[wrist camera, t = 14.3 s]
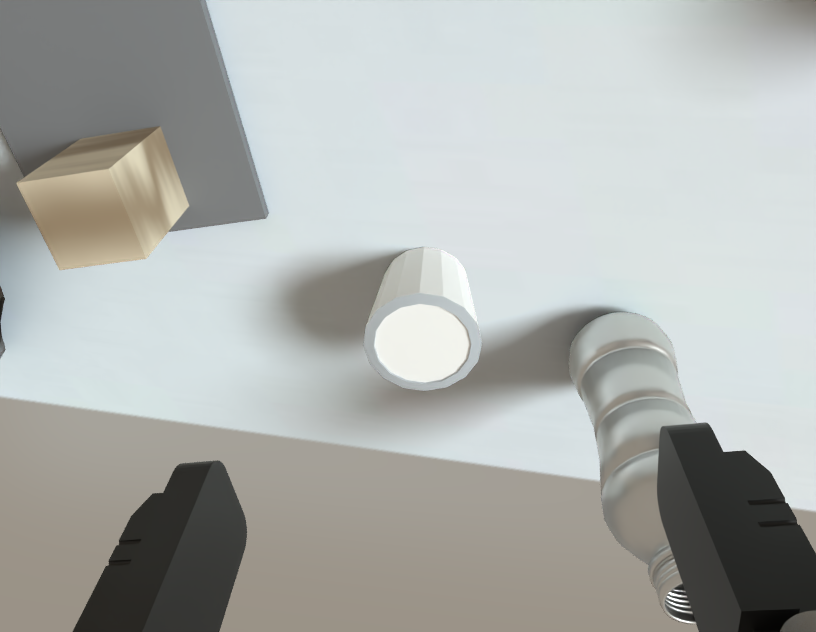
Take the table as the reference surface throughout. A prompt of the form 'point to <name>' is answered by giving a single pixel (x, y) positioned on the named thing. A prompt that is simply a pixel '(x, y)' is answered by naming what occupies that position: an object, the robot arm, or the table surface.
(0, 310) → the lucky cat figurine
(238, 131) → the board
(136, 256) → the pale birch block
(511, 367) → the table surface
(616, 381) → the plastic bottle
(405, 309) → the white cylinder
